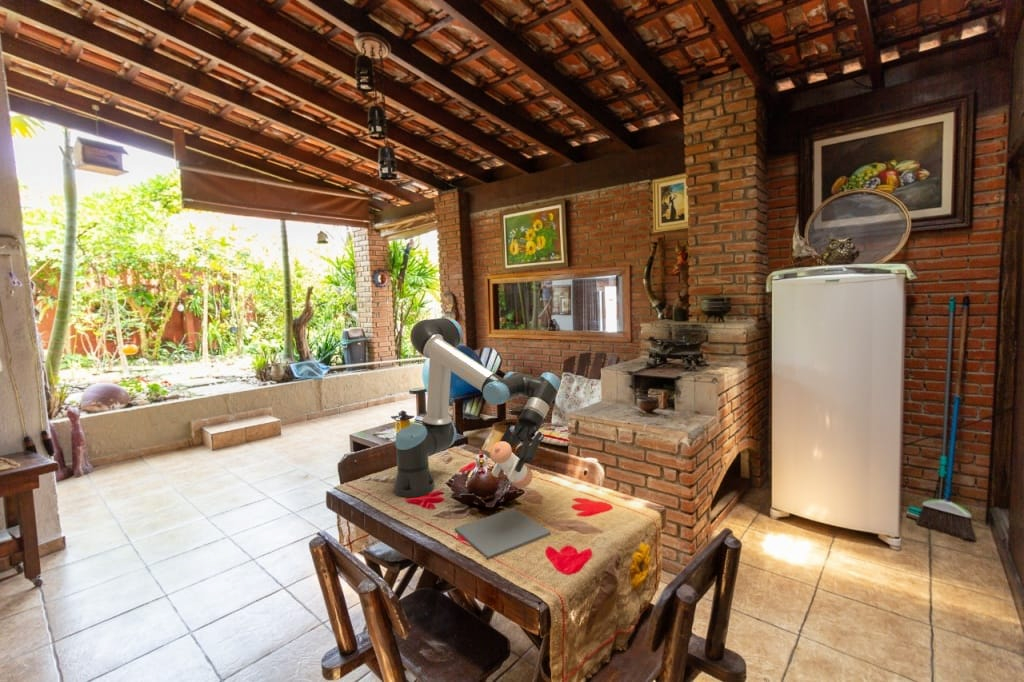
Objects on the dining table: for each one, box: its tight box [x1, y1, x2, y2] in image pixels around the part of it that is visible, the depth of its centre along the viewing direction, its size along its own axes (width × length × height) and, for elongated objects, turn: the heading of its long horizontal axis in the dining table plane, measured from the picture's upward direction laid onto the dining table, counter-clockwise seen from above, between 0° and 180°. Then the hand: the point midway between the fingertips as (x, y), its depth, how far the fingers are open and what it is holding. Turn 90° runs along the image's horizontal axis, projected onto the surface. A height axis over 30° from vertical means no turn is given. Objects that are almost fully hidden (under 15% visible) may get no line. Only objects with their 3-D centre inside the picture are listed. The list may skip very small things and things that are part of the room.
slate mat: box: [454, 507, 552, 560], centre depth 140 cm, size 20×22×1 cm
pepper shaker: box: [489, 441, 534, 489], centre depth 143 cm, size 7×7×19 cm
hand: (501, 477), depth 140 cm, fingers closed on pepper shaker, 5 cm apart
